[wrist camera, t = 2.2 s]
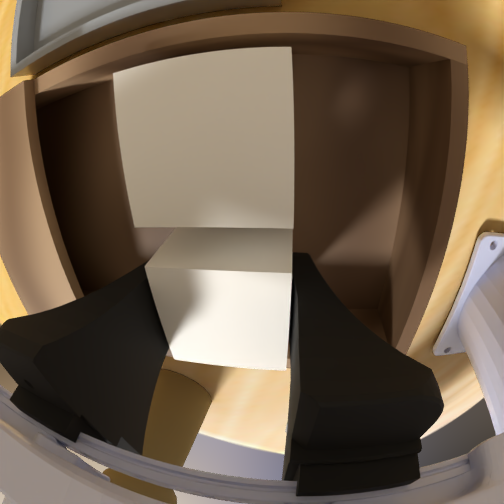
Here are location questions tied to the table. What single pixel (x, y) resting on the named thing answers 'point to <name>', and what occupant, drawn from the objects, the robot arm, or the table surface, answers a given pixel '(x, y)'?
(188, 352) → the cube
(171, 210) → the cube
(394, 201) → the walnut box
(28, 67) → the slate dish
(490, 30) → the table surface
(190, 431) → the cork
